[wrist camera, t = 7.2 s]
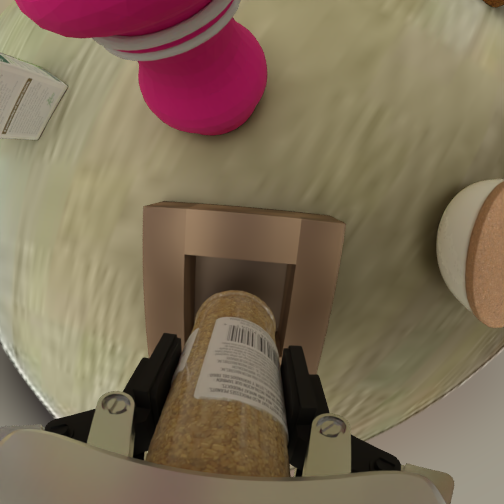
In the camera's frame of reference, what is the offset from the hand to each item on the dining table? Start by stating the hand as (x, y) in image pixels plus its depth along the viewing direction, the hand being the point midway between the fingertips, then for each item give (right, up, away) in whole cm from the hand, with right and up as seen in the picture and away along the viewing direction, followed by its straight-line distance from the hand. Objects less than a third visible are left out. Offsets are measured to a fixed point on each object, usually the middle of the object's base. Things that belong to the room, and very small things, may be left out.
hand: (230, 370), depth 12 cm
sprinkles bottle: (0, +1, +4) cm, 5 cm away
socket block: (0, +2, +10) cm, 10 cm away
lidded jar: (+19, +7, +9) cm, 22 cm away
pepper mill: (-2, +16, +7) cm, 18 cm away
